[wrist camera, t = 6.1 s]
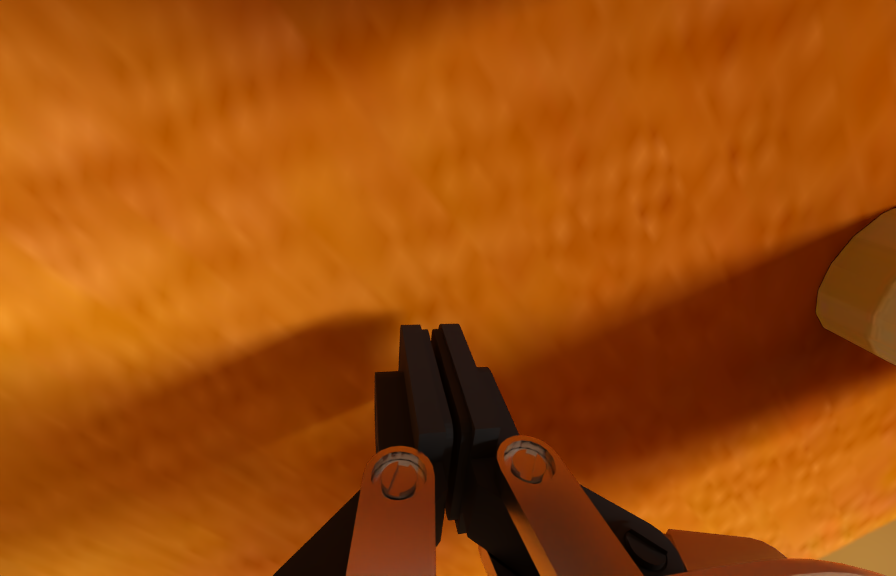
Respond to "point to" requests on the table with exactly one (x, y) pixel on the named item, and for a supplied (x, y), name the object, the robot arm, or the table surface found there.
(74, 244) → the table surface
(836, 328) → the book
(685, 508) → the table surface
